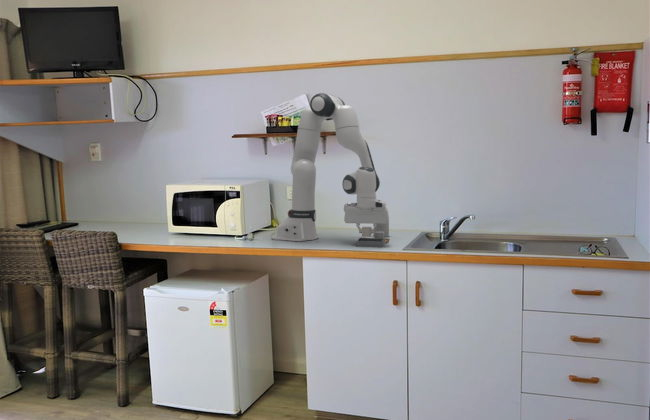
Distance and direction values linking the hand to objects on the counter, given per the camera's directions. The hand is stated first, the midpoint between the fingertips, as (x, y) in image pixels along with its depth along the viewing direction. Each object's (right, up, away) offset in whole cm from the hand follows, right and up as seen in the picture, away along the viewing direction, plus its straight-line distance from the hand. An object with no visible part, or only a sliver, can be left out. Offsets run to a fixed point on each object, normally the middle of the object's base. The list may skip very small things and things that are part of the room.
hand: (366, 233), depth 284 cm
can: (+9, -3, +25) cm, 27 cm away
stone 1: (0, -1, 0) cm, 1 cm away
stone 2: (+7, -4, +12) cm, 15 cm away
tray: (+4, -5, +11) cm, 13 cm away
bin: (+2, -6, 0) cm, 6 cm away
